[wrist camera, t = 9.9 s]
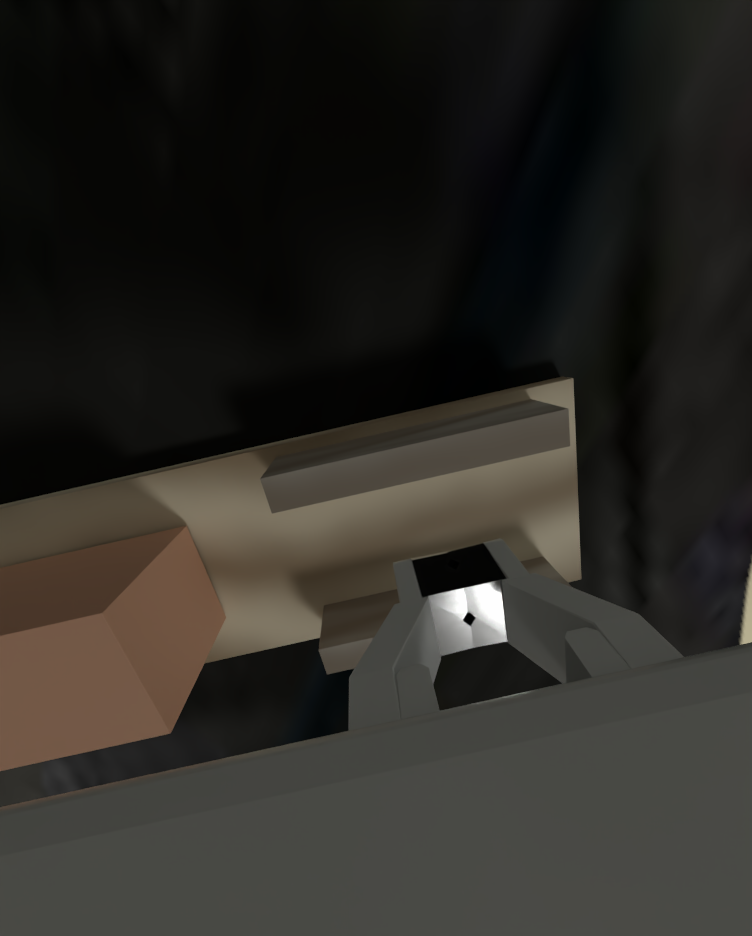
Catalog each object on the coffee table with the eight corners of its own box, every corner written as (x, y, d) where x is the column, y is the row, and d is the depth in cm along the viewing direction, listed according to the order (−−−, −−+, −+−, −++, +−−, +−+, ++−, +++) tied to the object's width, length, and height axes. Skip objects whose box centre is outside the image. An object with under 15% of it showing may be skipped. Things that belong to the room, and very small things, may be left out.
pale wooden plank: (-82, 523, 17) (-203, 571, 14) (560, 376, 17) (620, 383, 13) (34, 688, 21) (-38, 763, 17) (570, 568, 21) (620, 617, 17)
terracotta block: (-16, 571, 17) (-201, 680, 11) (186, 525, 17) (102, 612, 11) (42, 658, 19) (-94, 791, 13) (226, 617, 19) (170, 733, 13)
